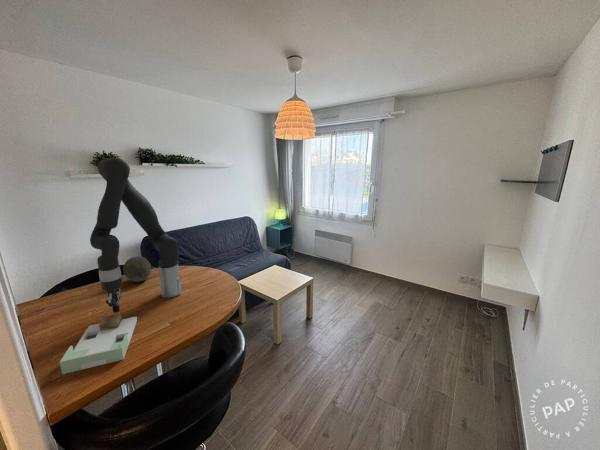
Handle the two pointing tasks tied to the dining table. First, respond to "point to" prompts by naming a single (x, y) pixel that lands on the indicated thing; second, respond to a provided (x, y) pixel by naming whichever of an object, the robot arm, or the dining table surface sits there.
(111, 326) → the block
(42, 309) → the dining table surface
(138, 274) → the cantaloupe
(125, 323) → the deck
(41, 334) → the dining table surface
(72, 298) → the dining table surface
